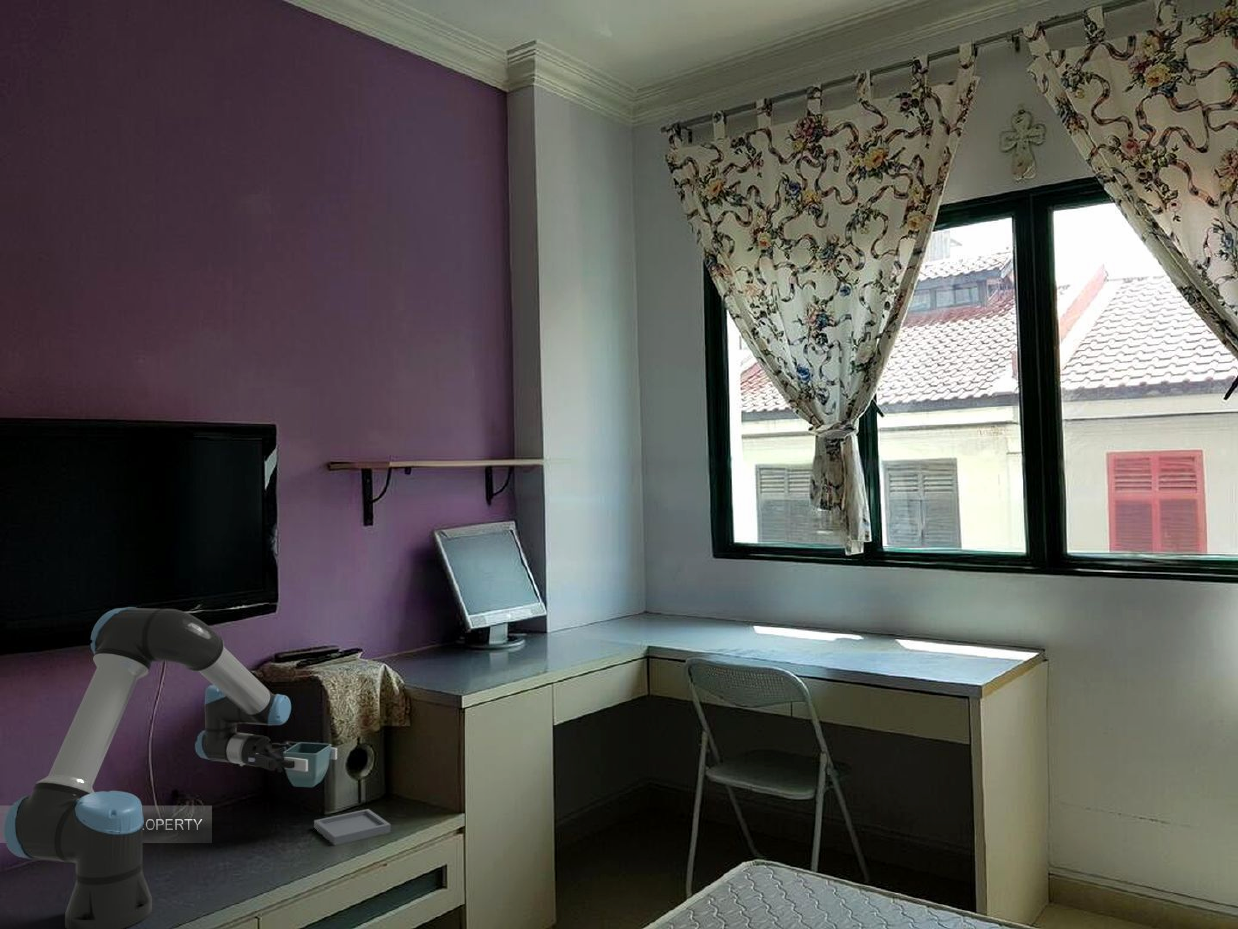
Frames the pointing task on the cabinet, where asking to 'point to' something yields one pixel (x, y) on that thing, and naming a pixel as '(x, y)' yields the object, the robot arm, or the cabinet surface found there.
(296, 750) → the flower pot
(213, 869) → the cabinet surface
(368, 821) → the plant tray
